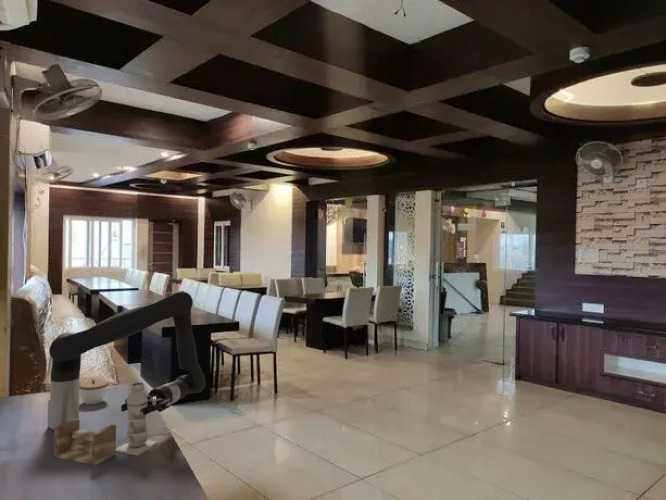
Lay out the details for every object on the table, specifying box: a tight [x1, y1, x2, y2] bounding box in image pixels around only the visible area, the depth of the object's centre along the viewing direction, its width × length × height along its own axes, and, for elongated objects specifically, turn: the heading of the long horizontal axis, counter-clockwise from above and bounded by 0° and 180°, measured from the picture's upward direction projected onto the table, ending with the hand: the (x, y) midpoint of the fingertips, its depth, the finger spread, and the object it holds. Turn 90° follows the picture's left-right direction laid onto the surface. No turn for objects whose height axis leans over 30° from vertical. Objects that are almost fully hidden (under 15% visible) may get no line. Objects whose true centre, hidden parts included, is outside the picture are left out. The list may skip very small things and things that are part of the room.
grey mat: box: [116, 439, 159, 456], centre depth 159 cm, size 9×10×1 cm
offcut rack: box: [53, 418, 117, 466], centre depth 152 cm, size 16×8×9 cm, turn 73°
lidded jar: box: [79, 379, 108, 406], centre depth 203 cm, size 11×11×9 cm
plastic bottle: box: [125, 382, 149, 447], centre depth 159 cm, size 6×7×20 cm
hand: (132, 410), depth 157 cm, fingers open, 8 cm apart
